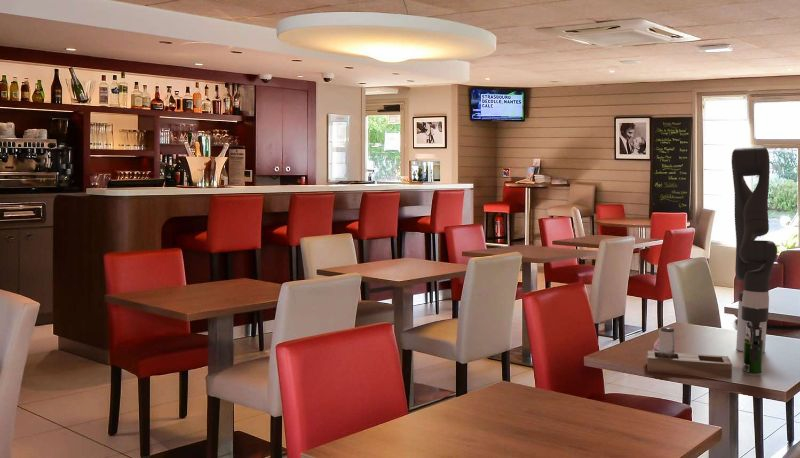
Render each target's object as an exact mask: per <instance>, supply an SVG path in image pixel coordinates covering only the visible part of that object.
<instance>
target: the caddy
mask: <svg viewBox="0 0 800 458" xmlns="http://www.w3.org/2000/svg"><path fill="white" fill-rule="evenodd" d="M731 361H732V360H731V359H730V357H729V356H728V355H716V354H714V355H713V354H702V353H701V354H700V353H691V352H690V353H688V352H675V358H674V359H673V358H660V357H658V351H652V350H647V355H646V365H647V367H646V368H647V373H659V374H671V375H672V374H673V375H681V376H682V375H684V376H697V377H708V378H720V379H721V378H722V379H732V378H733V377H732V375H733V372H732V371H733V363H732V362H731Z"/></svg>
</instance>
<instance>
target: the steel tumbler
mask: <svg viewBox="0 0 800 458" xmlns="http://www.w3.org/2000/svg"><path fill="white" fill-rule="evenodd" d="M658 332H659V333H658V338H659V351H658V357H660V358H673V359H674V358H675V351H676V330H675V328H674V327H671V326H662V327H660V329H659V331H658Z"/></svg>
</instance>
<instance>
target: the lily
mask: <svg viewBox="0 0 800 458" xmlns="http://www.w3.org/2000/svg"><path fill="white" fill-rule="evenodd" d="M651 351H659V337H658V339H656V341H653V348H652V350H651Z"/></svg>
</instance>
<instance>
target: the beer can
mask: <svg viewBox="0 0 800 458" xmlns="http://www.w3.org/2000/svg"><path fill="white" fill-rule="evenodd" d="M762 337H763V336H761V349H760V350H759V358H758V362H753V361H751V360H750V355H751V348H750V346H751V343H750V342H749V334H745V338H744V352H743V353H742V355H743V357H742V358H743V359H742V372H743V373H742V374H744V375H747V376H752V377H759V376H761V374H762V373H763V372H762V370H763V353H764V352H763V338H762ZM751 338H752V337H751ZM754 344H756V345H757V342H754Z"/></svg>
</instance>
